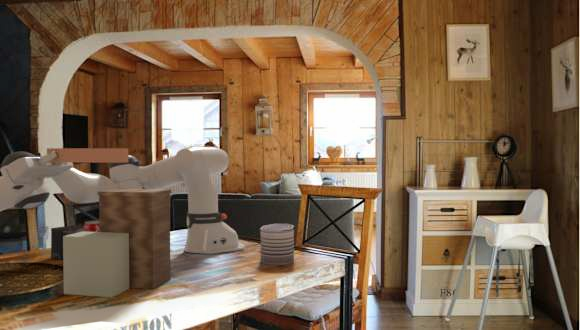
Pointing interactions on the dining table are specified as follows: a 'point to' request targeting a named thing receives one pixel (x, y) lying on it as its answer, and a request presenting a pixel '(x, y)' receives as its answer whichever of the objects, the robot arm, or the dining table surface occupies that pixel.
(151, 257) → the tall stand
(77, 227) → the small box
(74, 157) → the rail
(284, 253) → the can
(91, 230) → the soda can
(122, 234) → the low block
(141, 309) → the dining table surface
